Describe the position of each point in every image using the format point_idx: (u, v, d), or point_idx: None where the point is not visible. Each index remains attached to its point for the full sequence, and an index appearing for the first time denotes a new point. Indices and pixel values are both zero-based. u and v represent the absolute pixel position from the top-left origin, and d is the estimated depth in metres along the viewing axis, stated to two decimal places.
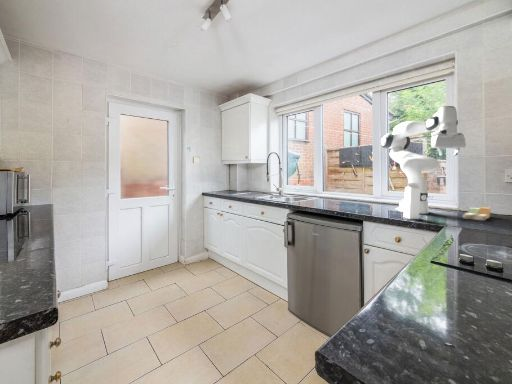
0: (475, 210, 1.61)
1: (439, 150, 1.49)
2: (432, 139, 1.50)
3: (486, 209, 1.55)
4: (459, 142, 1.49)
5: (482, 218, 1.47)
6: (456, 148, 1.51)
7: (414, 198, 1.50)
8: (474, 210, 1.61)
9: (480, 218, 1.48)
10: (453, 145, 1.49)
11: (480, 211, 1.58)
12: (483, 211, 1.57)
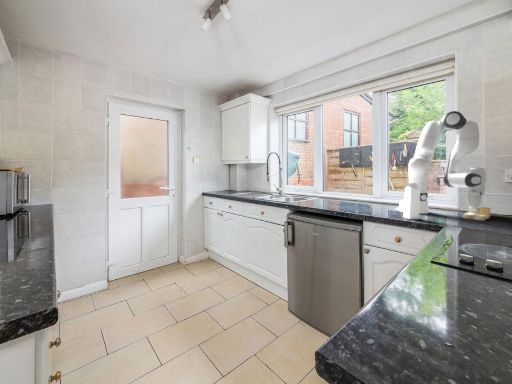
0: (475, 210, 1.61)
1: (473, 209, 1.60)
2: (470, 199, 1.57)
3: (486, 209, 1.55)
4: (480, 201, 1.65)
5: (482, 218, 1.47)
6: None
7: (414, 198, 1.50)
8: None
9: (480, 218, 1.48)
10: (479, 204, 1.63)
11: (480, 211, 1.58)
12: (483, 211, 1.57)
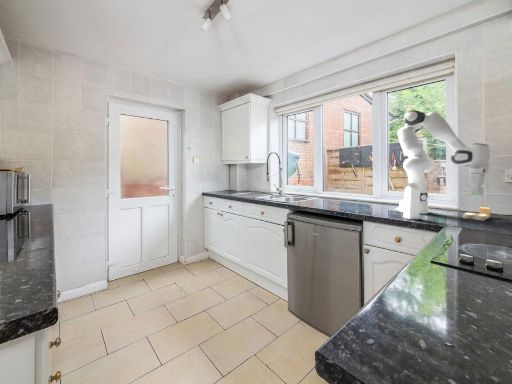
0: (478, 189, 1.50)
1: (476, 188, 1.49)
2: (472, 176, 1.46)
3: (486, 209, 1.55)
4: (483, 179, 1.54)
5: (482, 218, 1.47)
6: (478, 185, 1.55)
7: (414, 198, 1.50)
8: None
9: (480, 218, 1.48)
10: (482, 183, 1.52)
11: (480, 211, 1.58)
12: (483, 211, 1.57)
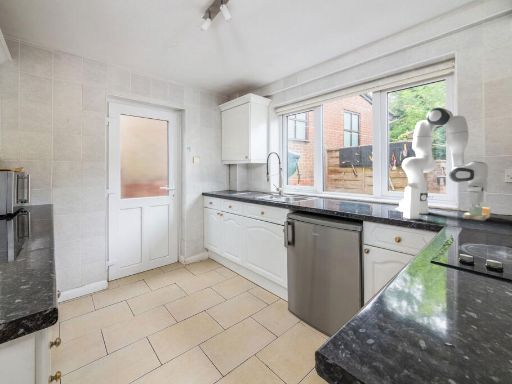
0: (477, 208, 1.51)
1: (474, 206, 1.49)
2: (471, 195, 1.47)
3: (486, 209, 1.55)
4: (482, 197, 1.55)
5: (482, 218, 1.47)
6: (477, 202, 1.56)
7: (414, 198, 1.50)
8: (476, 208, 1.51)
9: (480, 218, 1.48)
10: (480, 200, 1.52)
11: None
12: (483, 211, 1.57)
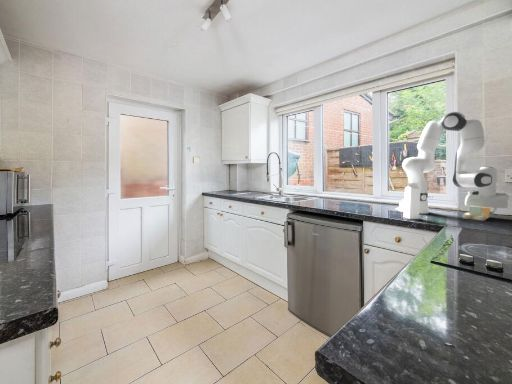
0: (477, 208, 1.51)
1: None
2: (466, 197, 1.63)
3: (486, 209, 1.55)
4: (497, 203, 1.53)
5: (482, 218, 1.47)
6: (493, 208, 1.56)
7: (414, 198, 1.50)
8: (476, 208, 1.51)
9: (480, 218, 1.48)
10: (490, 205, 1.55)
11: None
12: (483, 211, 1.57)
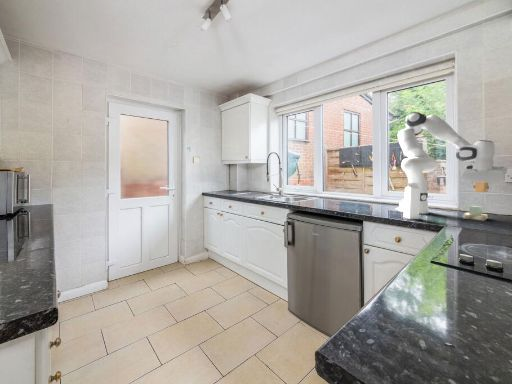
0: (477, 208, 1.51)
1: (471, 183, 1.58)
2: None
3: (481, 183, 1.52)
4: (493, 176, 1.48)
5: (482, 218, 1.47)
6: (490, 182, 1.51)
7: (414, 198, 1.50)
8: (476, 208, 1.51)
9: (480, 218, 1.48)
10: (485, 179, 1.51)
11: (476, 185, 1.55)
12: (478, 185, 1.54)
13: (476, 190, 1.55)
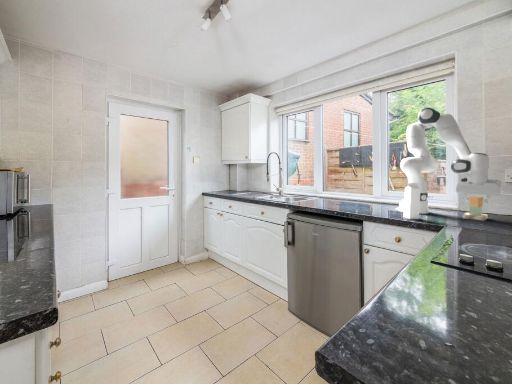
0: (477, 208, 1.51)
1: (464, 196, 1.57)
2: None
3: (476, 198, 1.51)
4: (488, 190, 1.47)
5: (482, 218, 1.47)
6: (487, 195, 1.49)
7: (414, 198, 1.50)
8: (476, 208, 1.51)
9: (480, 218, 1.48)
10: (480, 192, 1.50)
11: (470, 200, 1.54)
12: (473, 200, 1.52)
13: (471, 205, 1.53)
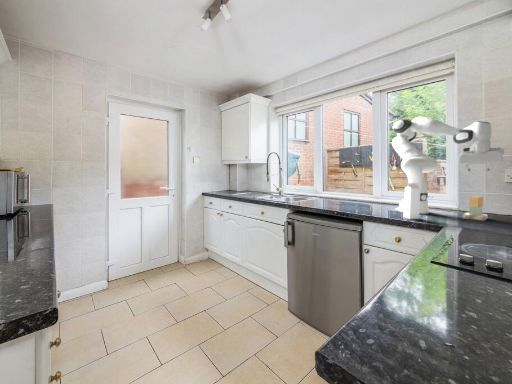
0: (477, 208, 1.51)
1: (465, 166, 1.56)
2: None
3: (476, 198, 1.51)
4: (491, 158, 1.45)
5: (482, 218, 1.47)
6: None
7: (414, 198, 1.50)
8: (476, 208, 1.51)
9: (480, 218, 1.48)
10: (482, 161, 1.48)
11: (470, 200, 1.54)
12: (473, 200, 1.52)
13: (471, 205, 1.53)
